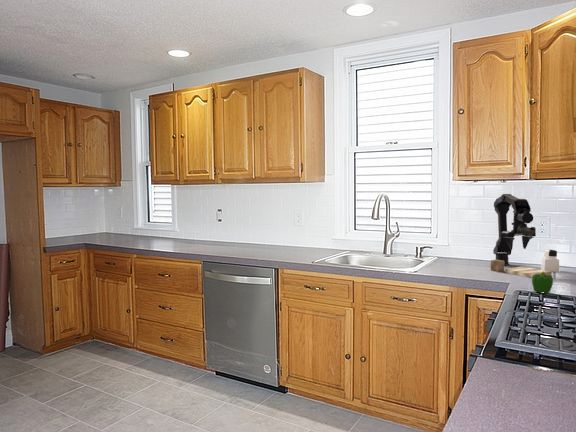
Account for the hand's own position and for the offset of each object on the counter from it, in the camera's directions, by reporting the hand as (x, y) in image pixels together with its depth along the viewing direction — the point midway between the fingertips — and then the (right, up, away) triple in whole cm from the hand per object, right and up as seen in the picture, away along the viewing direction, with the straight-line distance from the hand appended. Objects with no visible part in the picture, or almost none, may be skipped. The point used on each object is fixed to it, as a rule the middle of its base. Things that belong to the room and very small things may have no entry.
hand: (517, 249), depth 242 cm
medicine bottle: (+20, -13, +4) cm, 24 cm away
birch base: (+3, -13, -5) cm, 14 cm away
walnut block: (-10, -13, +4) cm, 16 cm away
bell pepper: (-13, -17, -45) cm, 49 cm away
